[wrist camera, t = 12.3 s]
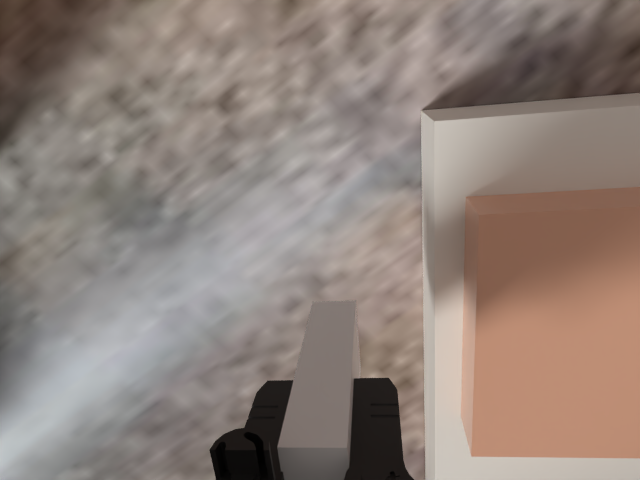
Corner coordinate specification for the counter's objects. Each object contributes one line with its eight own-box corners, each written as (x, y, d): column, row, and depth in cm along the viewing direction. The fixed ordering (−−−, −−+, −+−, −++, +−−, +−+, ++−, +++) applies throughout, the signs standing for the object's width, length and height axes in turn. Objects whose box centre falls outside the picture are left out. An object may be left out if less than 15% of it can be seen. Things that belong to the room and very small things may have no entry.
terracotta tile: (651, 416, 17) (685, 459, 15) (460, 416, 18) (471, 456, 16) (697, 183, 14) (747, 201, 12) (465, 196, 15) (479, 214, 13)
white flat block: (699, 603, 26) (754, 693, 22) (426, 590, 28) (435, 671, 24) (852, 75, 16) (996, 77, 13) (420, 110, 18) (434, 121, 14)
